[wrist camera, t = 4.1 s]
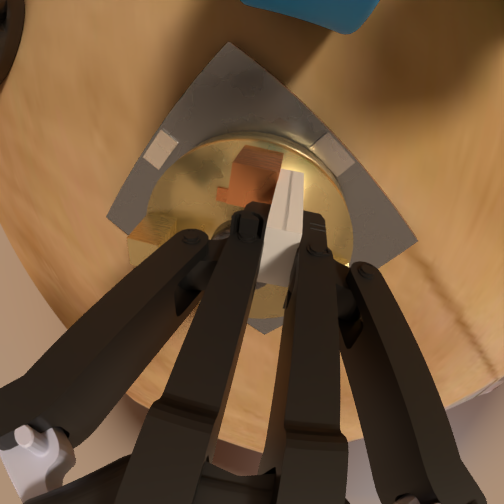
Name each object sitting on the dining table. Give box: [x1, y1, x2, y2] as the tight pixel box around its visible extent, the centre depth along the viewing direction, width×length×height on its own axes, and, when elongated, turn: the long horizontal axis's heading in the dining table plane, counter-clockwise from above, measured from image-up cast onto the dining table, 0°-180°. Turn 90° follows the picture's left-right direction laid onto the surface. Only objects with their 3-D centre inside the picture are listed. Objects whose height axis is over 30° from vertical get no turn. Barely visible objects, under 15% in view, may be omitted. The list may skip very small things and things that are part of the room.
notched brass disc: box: [127, 131, 353, 319], centre depth 21 cm, size 16×16×6 cm
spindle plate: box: [106, 42, 418, 335], centre depth 24 cm, size 22×20×1 cm
